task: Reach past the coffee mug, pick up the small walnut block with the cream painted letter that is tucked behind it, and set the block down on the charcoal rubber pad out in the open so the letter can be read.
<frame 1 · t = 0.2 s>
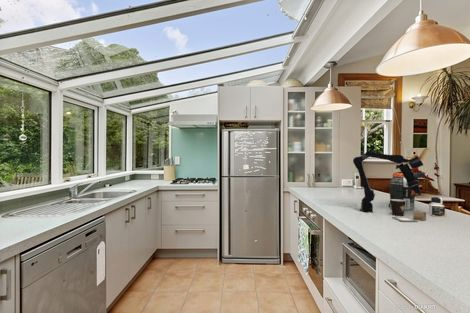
hand: (420, 193, 173), 15 cm above the counter, tool tilted 30°, fingers open, 9 cm apart
coffee mug: (395, 215, 178), on the counter
supplement tub: (401, 208, 200), on the counter
letter block: (419, 219, 165), on the counter
medicine bottle: (436, 215, 177), on the counter
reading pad: (404, 220, 165), on the counter
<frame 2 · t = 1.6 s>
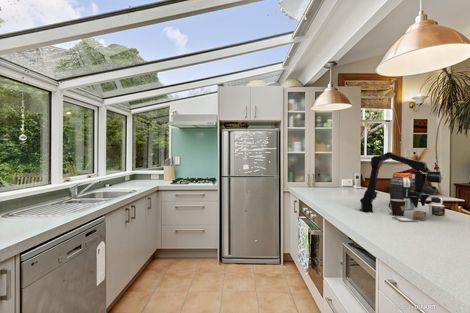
hand: (419, 206, 165), 8 cm above the counter, tool pointing down, fingers open, 9 cm apart
nothing on the counter moved.
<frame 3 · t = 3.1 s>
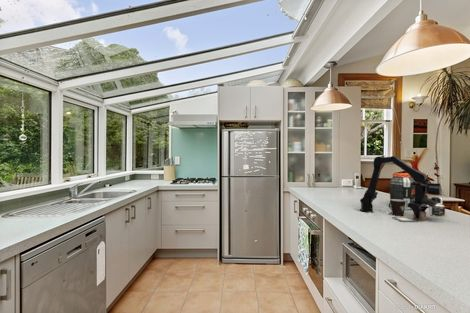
hand: (419, 218, 165), 1 cm above the counter, tool pointing down, fingers closed on letter block, 5 cm apart
letter block: (419, 219, 165), on the counter, touching gripper
everything else where it was.
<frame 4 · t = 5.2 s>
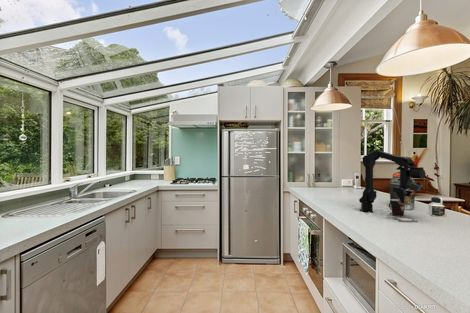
hand: (404, 202, 165), 11 cm above the counter, tool pointing down, fingers closed on letter block, 5 cm apart
letter block: (404, 204, 165), point 10 cm above the counter, touching gripper
everything else where it was.
when the fingers open (2 cm above the counter, at t = 7.4 s): letter block stays where it is, resting on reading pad.
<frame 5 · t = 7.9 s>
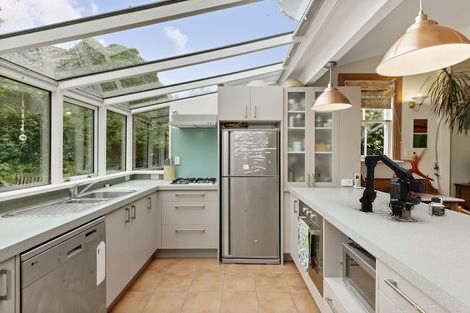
hand: (404, 216, 165), 2 cm above the counter, tool pointing down, fingers open, 9 cm apart
letter block: (404, 218, 165), point 1 cm above the counter, touching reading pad
everything else where it was.
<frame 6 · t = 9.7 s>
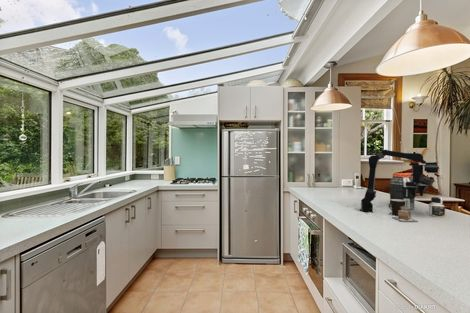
hand: (417, 196, 172), 13 cm above the counter, tool pointing down, fingers open, 9 cm apart
nothing on the counter moved.
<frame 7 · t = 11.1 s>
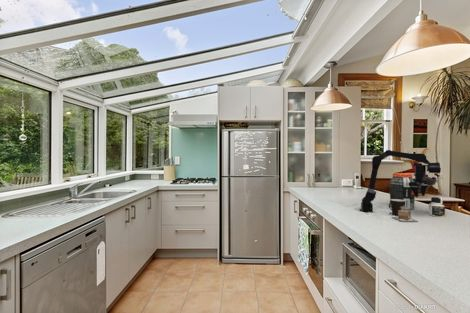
hand: (420, 196, 174), 13 cm above the counter, tool pointing down, fingers open, 9 cm apart
nothing on the counter moved.
at the end: letter block inside the target area on the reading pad (0.0 cm from its centre), point 0.7 cm above the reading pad's base; letter block tilted 0°; the gripper is holding nothing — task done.
